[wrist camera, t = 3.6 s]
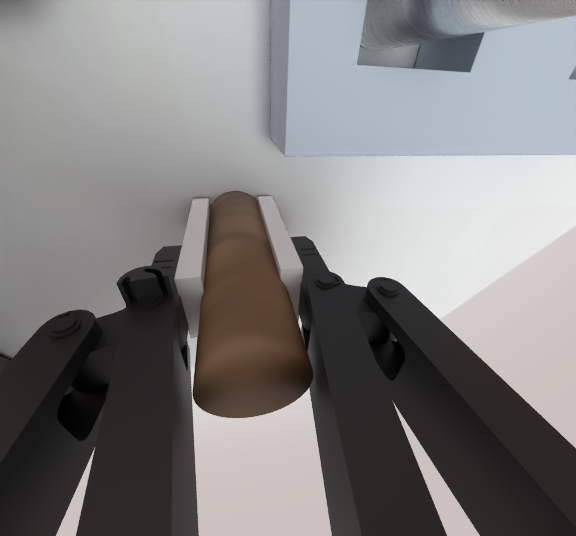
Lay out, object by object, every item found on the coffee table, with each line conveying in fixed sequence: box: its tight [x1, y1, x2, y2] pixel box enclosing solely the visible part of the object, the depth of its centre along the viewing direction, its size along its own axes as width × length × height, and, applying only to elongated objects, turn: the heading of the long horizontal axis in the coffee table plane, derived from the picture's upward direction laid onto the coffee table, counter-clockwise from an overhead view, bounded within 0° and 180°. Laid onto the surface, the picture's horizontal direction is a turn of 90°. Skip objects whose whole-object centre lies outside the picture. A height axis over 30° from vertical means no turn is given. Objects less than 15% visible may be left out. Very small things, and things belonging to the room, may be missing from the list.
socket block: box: [271, 0, 576, 156], centre depth 10 cm, size 18×10×4 cm, turn 88°
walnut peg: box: [193, 191, 314, 418], centre depth 10 cm, size 3×3×10 cm
